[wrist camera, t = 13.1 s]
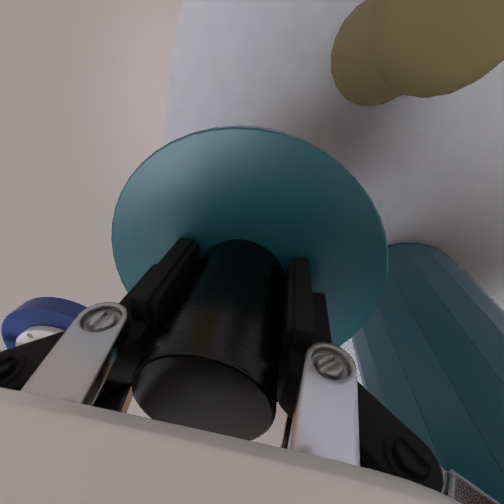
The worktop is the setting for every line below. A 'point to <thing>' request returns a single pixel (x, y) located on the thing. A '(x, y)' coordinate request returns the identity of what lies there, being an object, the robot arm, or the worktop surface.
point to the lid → (242, 266)
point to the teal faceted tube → (439, 362)
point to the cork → (416, 48)
